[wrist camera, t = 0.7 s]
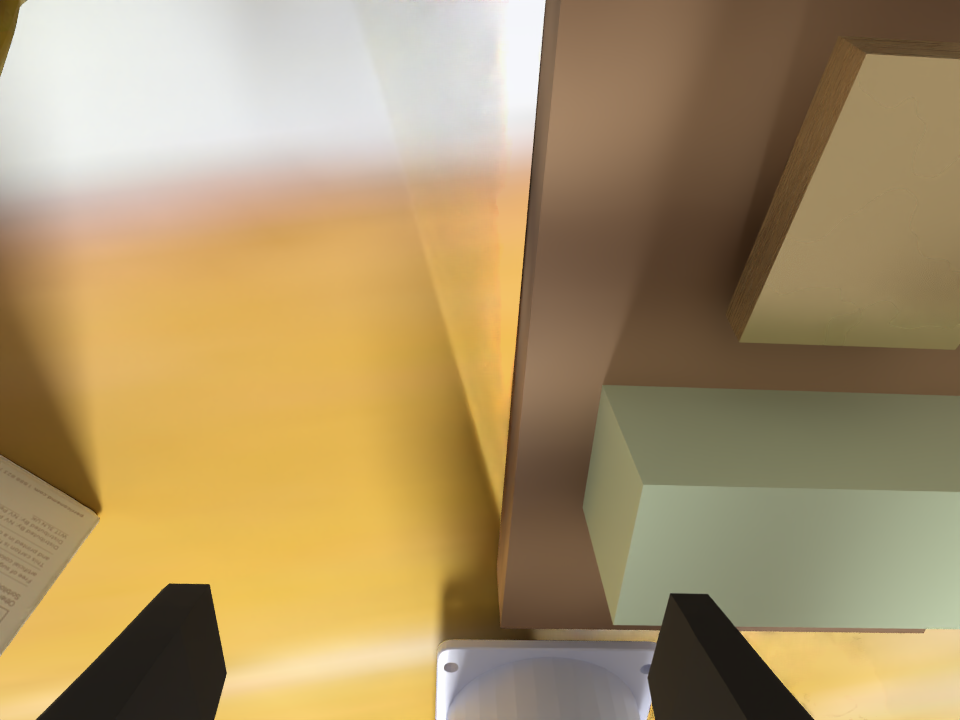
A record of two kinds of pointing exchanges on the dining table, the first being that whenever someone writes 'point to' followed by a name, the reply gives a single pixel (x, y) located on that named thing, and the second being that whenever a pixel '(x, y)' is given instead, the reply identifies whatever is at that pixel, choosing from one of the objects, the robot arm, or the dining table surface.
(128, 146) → the dining table surface
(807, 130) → the tan flat block
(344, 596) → the dining table surface
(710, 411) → the light green rectangular bar
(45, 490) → the supplement box
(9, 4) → the mug
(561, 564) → the panel
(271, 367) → the dining table surface
